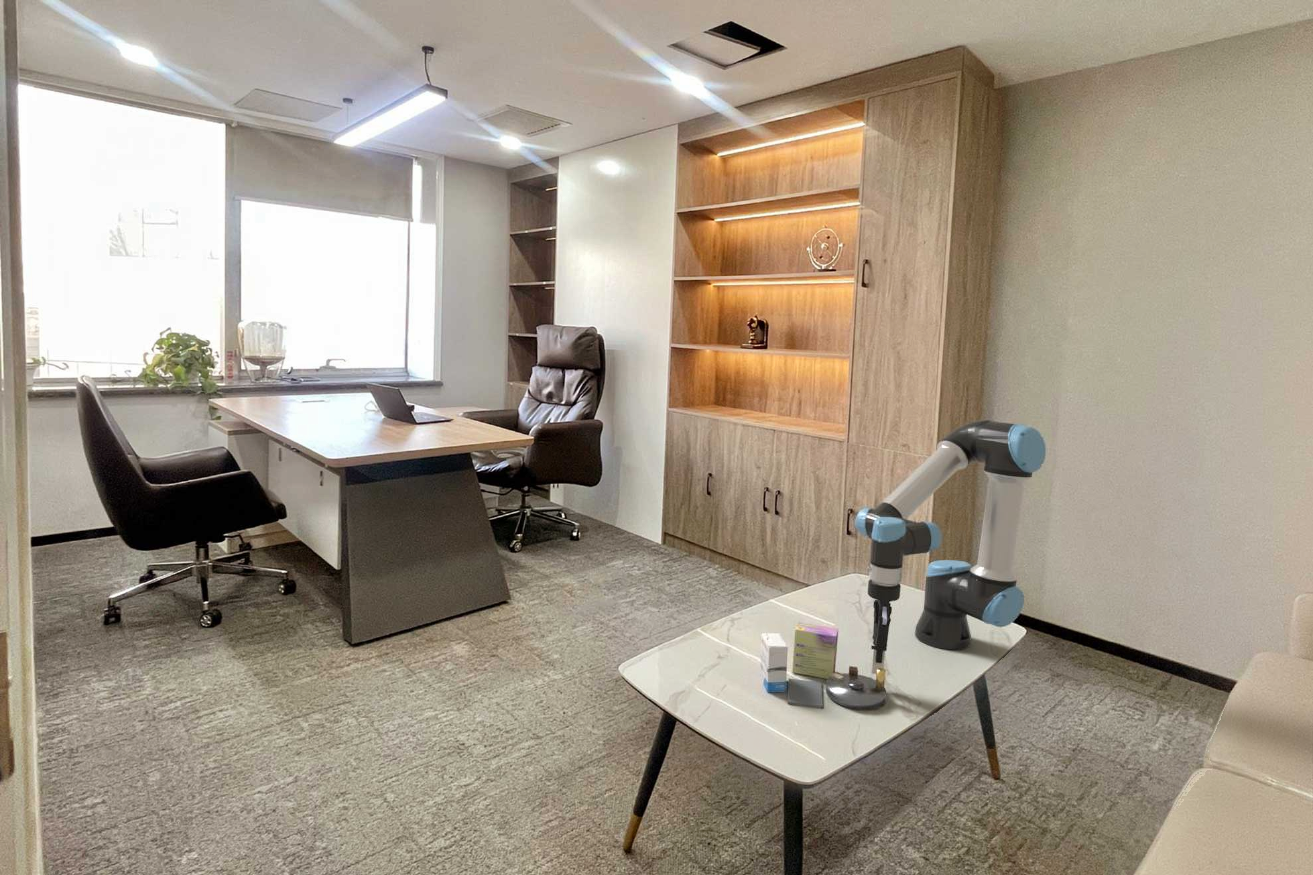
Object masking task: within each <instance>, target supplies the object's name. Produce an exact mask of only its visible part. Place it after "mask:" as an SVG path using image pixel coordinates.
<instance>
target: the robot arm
mask: <svg viewBox="0 0 1313 875" xmlns="http://www.w3.org/2000/svg"><path fill="white" fill-rule="evenodd" d="M1046 449H1047V448H1046V442H1045V439H1044V437H1043V436H1042V434H1041V433H1040V431H1039V430H1038V429H1036V428H1034V427H1031V426H1027V425H1023V424H1020V423H1010V422H1008V423H1007V422H999V421H994V420H993V421H992V420H989V419H978V420H975V421H971V422H968V423H965V424H963V425H962V426H959V427H958V428H957V429H955V430H953V431H952V432H950V433H948V434H947V435H946V436H945V437H944V438H943V439H941V440H940V442H938V443H937V446H936V450H935V451H934V452H933V453H932V454H931V455H930V456H929V457H928V458H927V459H926V460H925V461H924V462H923V463H921V465H919V466H918V467H917V468H916V469H915V470H914V471H913V472H912V473H911V474H910V475H909V476H908V477H907V478H906V479H905V480H904V481H903V482H902V483H901V484H899V485H898V487H897V488H895V489H894V490H893V491H892V492H891V493H890V494H889V495H888V496H887V497H886V498H885V499H884V500H883V501H881V502H880V504H879V505H878V506H877V507H875V508H872V507H865V508H863V509H861V510H860V511H859V512H858V513H857V515H856V516H855V523H854V524H855V529H856V530H857V532H858V533H859V534H861V535H863V536H864V537H867V538H868V539H870V540H871V546H870V548H871V549H870V566H867V567H866V570H867V571H869V572H868V578H869V580H868V583H867V595H868V597H870V598H872V599H874V601H873V605H872V606H873V631H872V632H873V633H872V640H873V642H872V645H871V646H870V647H871V648H870V649H871V650H872V657H871V670H870V671H871V672H870V673H871V674H872V675H874V674H875V675H876V673H877V669H878V668H882V669H885V668H884V667H885V658H886V657H885V654H886V652H887V649H888V648H887V647H888V639H889V633H890V632H889V630H890V624H891V621H892V620H891V619H892V618H891V615H892V612H893V607H892V606H891V602H895V601H898V600H900V597H901V582H902V578H903V577H902V575H903V568H904V567H903V562H904V557H907V556H911V555H912V556H913V555H918V554H920V555H921V554H927V553H929V552H933V551H936V550H937V549H939V548H940V547H941V544H942V537H943V536H942V532H941V530H940V528H939V527H938V525H937V524H935V523H933V522H931V521H920V522H918V521H917V522H916V521H912V520H909V519H908V518H910V516H911V515H913V514H914V512H916V511H917V509H919V507H921V505H923V504H924V503H925V502H926V501H927V500H928V499H929V498H930V497H931V496H932V495H933V494H934V493H935V492H936V491H937V490H938V489H939V488H941V486H943V485H944V484H945V483H946V481H948V480H949V479H950V478H951V476H953V475H954V474H955V473H956V472H957V471H958V470H963V469H966V468H967V466H969V465H970V464H972V463H976V462H977V463H983V464H984V467H983V472H984V473H985V475H986V476H987V478H988V485H987V489H986V490H987V492H986V498H985V505H984V506H985V507H984V511H983V512H984V513H983V521H982V526H981V534H980V541H979V548H978V557H977V563H976V565H974V566H972V565H971V564H970V563H969V562H967V561H962V560H953V559H941V560H935V561H932V562H930V563H929V564H928V566H927V571H926V575H925V589H924V601H923V611H922V612H921V615H920V617H919V619H918V621H917V623H916V625H915V628H914V629H915V630H914V633H915V634H914V636H915V637H916V639H917V640H918V641H919V642H920V641H921V642H922V643H923V644H926V645H929V646H931V647H935V648H939V649H945V650H954V651H956V650H964V649H967V648H969V647H970V646H971V644H972V635H971V630H970V626H969V622H968V621H969V620H968V617H967V616H970V617H972V618H973V619H975V620H979V621H981V622H984V623H985V624H987V625H992V626H995V627H999V628H1003V627H1008V626H1009V625H1010V624H1012V623H1014V621H1015V620H1016V619H1017V618H1018V617H1019V616H1020V614H1021V612H1022V609H1023V607H1024V603H1025V595H1024V592H1023V590H1022V589H1021V588H1020V587H1018V586H1017V580H1018V576H1016V574H1015V573H1014V571H1013V564H1014V557H1015V550H1016V543H1017V536H1018V529H1019V525H1020V524H1019V523H1020V515H1021V509H1022V503H1023V493H1024V490H1025V488H1024V487H1025V483H1026V482H1028V481H1029V480H1031V479H1032V478H1033V473H1035V472H1037V471H1039V470H1040V469H1041V468H1042V466H1043V464H1044V463H1045V459H1046V453H1047V450H1046Z"/></svg>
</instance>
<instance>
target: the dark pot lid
mask: <svg viewBox="0 0 1313 875" xmlns="http://www.w3.org/2000/svg"><path fill="white" fill-rule="evenodd" d="M886 671H887V670H886V669H885V668H884V669H882V668H878V669H877V673H876V674H875V676H876V677H875V679H874V678H872V677H870V676H866V675H862V674H859V673H858V674H849V673H837V672H835V673H833V674H830V678H828V679H827V680H826V682H825V694H826V696H827V697H828V698H829V699H831V700H832V701H833V702H835V703H836V704H839V705H841V706H844V707H847V708H850V709H856V710H874V709H878V708H880V707H882V706H883V705H884V704H885V703H886V699H887V689H886V687H885V681H886Z"/></svg>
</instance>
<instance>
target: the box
mask: <svg viewBox="0 0 1313 875" xmlns="http://www.w3.org/2000/svg"><path fill="white" fill-rule="evenodd" d="M838 638H839V628H836V627H829V626H822V625H819V624H818V625H817V624H812V623H805V622H800V621H799V622H798V623H797V625H796V627H795V632H794V641H793V656H792V671H791V672H792V673H794V674H798V675H804V676H805V675H807V676H811V677H816V678H821V679H825V680H826V679H827V680H828V678H830V674H833V673H836V665H837V664H836V662H837V651H838Z"/></svg>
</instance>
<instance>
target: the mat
mask: <svg viewBox="0 0 1313 875" xmlns="http://www.w3.org/2000/svg"><path fill="white" fill-rule="evenodd" d="M787 683H788V684H787V688H788V689H787V705H795V706H802V707H810V708H817V709H823V708H824V707H823V706H824V704H823V693H822V692H823V689H822V682H821V681H815V680H814V681H813V680H807V679H806V680H805V679H796V678H788V682H787Z"/></svg>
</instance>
